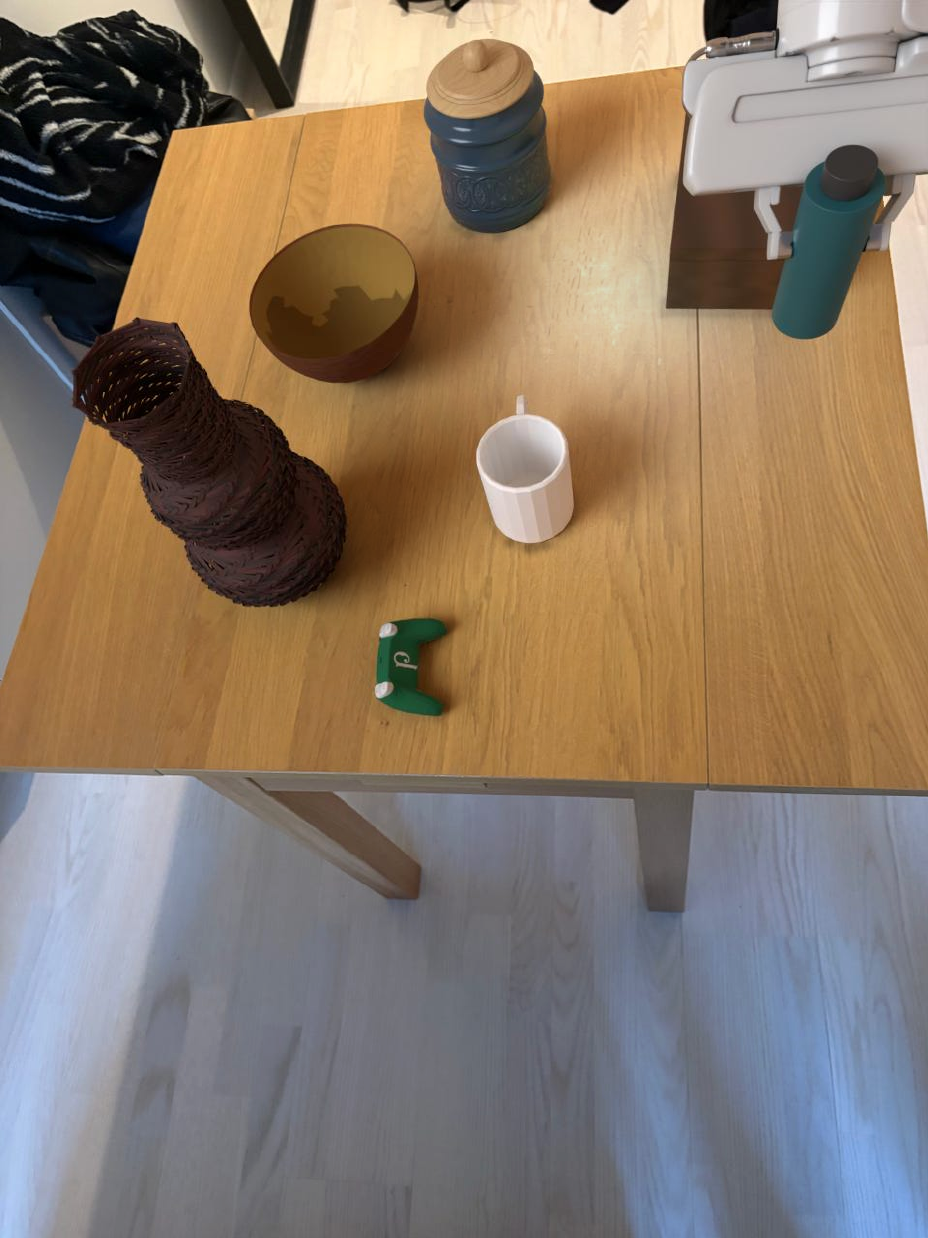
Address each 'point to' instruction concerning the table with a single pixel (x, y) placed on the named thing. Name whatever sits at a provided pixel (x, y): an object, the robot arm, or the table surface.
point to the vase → (214, 468)
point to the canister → (489, 135)
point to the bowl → (337, 302)
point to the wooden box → (723, 248)
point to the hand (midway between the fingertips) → (826, 255)
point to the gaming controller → (405, 665)
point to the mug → (526, 475)
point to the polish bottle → (828, 241)
